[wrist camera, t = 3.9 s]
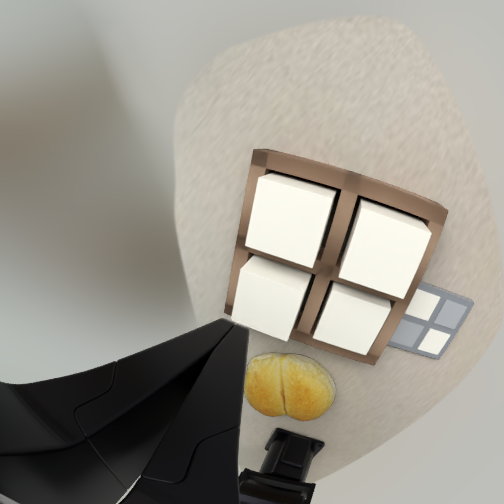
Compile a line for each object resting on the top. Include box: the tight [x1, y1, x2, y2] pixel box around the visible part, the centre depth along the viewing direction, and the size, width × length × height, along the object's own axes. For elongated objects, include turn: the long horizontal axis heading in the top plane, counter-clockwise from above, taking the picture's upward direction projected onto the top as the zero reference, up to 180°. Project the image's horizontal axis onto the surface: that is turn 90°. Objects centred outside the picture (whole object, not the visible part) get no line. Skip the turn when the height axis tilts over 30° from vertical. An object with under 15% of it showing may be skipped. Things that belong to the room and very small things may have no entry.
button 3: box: [231, 254, 312, 341], centre depth 19 cm, size 4×4×3 cm
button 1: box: [313, 281, 391, 355], centre depth 19 cm, size 4×4×3 cm
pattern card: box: [387, 281, 474, 359], centre depth 19 cm, size 6×6×1 cm
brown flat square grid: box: [224, 149, 448, 365], centre depth 19 cm, size 13×13×2 cm
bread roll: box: [244, 353, 336, 421], centre depth 24 cm, size 8×9×4 cm
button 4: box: [245, 173, 337, 268], centre depth 17 cm, size 4×4×3 cm
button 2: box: [339, 198, 432, 299], centre depth 16 cm, size 4×4×3 cm
